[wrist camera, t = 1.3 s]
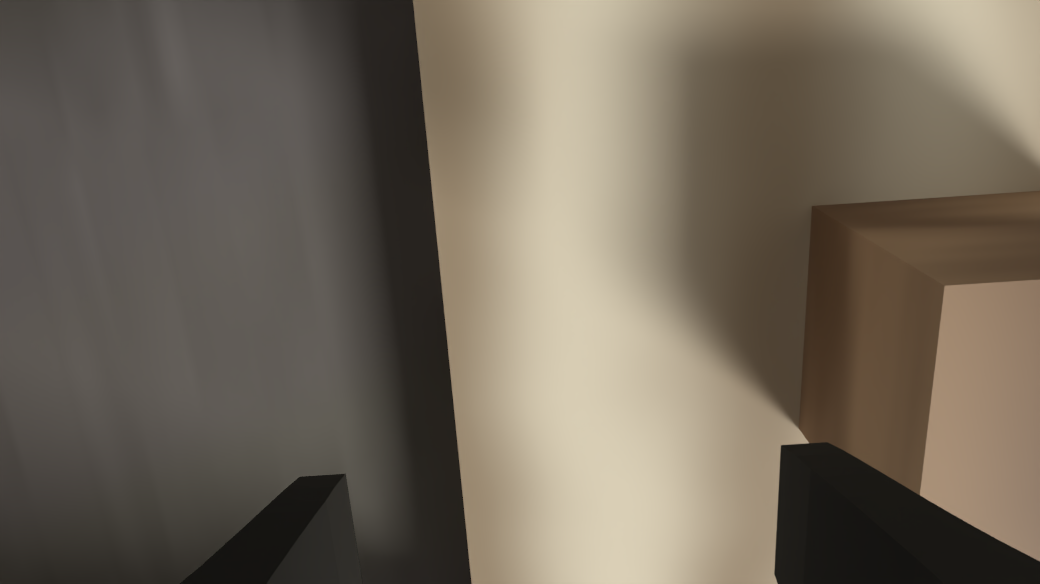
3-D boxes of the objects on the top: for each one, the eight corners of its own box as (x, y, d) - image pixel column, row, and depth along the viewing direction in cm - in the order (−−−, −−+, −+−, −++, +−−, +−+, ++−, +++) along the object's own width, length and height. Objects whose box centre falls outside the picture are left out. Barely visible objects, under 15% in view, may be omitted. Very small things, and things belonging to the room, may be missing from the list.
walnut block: (798, 428, 17) (909, 581, 13) (811, 205, 16) (945, 285, 11) (1026, 413, 17) (1221, 561, 13) (1062, 189, 16) (1302, 261, 11)
